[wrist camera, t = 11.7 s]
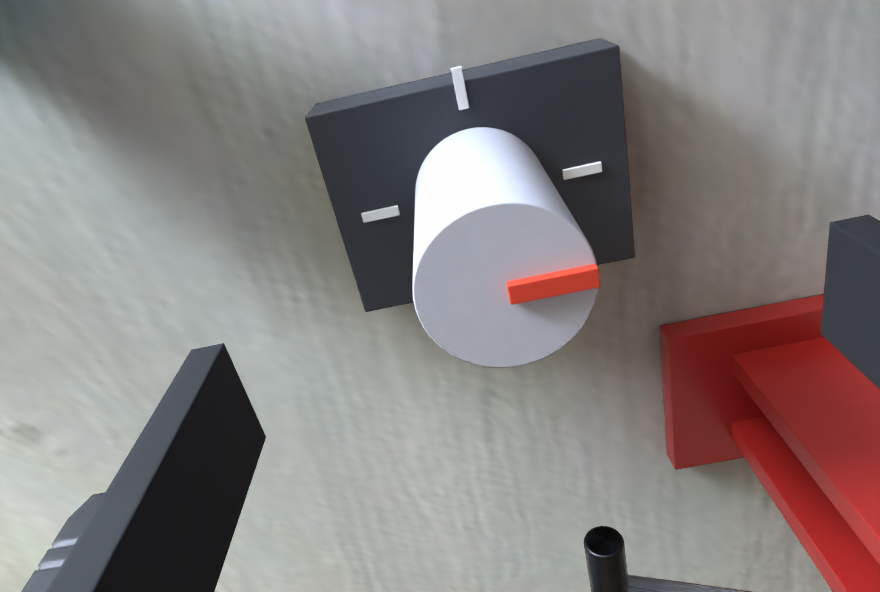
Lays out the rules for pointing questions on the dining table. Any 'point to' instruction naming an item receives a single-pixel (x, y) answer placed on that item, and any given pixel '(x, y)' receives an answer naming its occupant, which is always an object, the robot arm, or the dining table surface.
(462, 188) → the knob
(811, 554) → the red lever stand
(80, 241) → the dining table surface
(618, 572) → the lever
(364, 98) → the dial panel
